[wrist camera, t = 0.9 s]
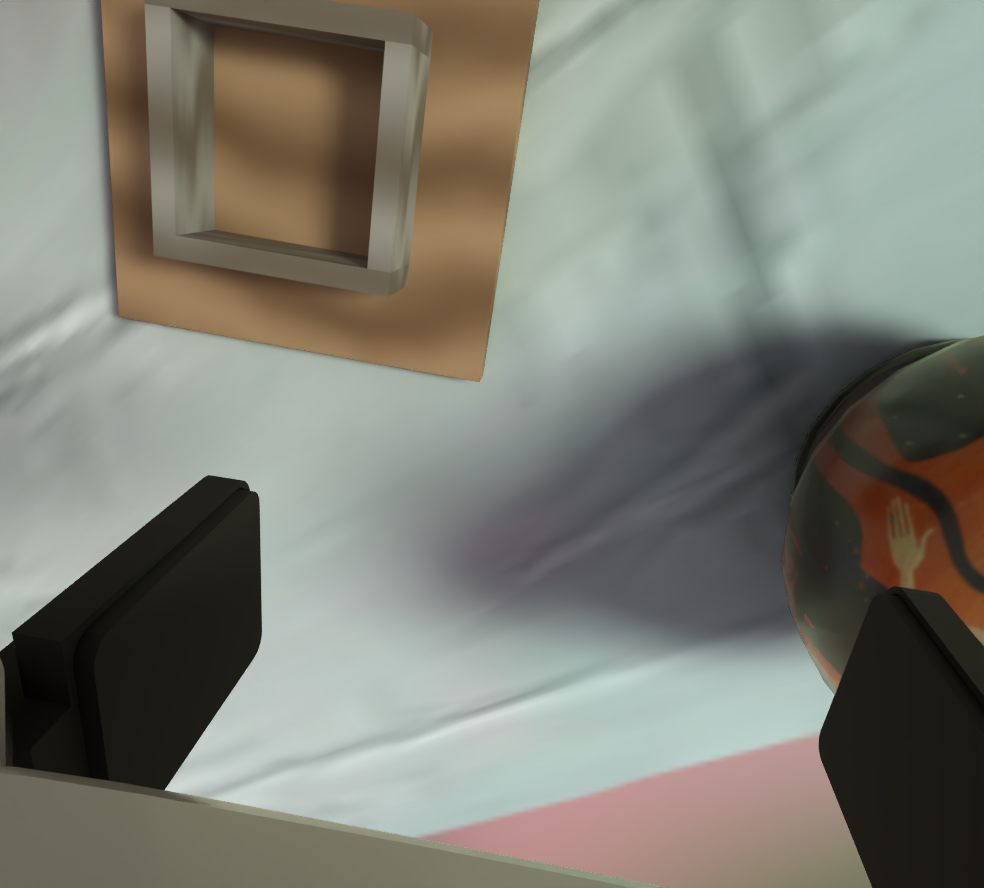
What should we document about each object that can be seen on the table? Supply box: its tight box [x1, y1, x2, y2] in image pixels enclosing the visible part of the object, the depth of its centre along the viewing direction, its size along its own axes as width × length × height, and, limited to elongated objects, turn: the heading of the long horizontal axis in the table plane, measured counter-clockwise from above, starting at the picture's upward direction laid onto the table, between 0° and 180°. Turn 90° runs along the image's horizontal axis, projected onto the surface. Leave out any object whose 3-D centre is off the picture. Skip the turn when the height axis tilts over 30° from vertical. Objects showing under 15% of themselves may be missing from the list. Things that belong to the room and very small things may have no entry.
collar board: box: [101, 0, 539, 382], centre depth 35 cm, size 22×22×6 cm
